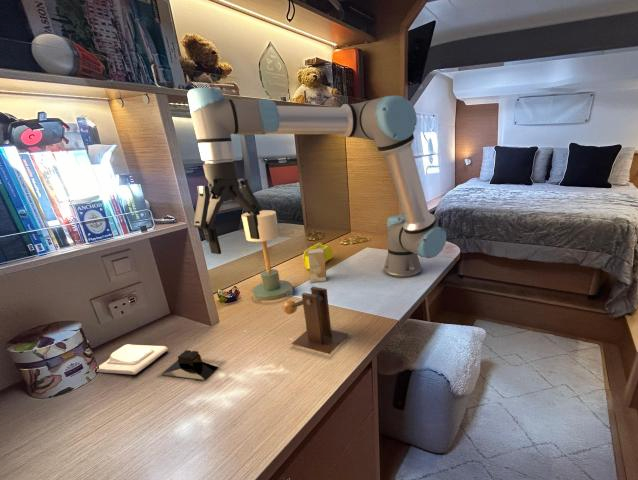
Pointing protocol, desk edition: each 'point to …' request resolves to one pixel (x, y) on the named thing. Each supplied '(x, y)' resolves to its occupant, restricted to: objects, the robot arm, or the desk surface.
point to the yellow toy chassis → (318, 246)
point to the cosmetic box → (317, 265)
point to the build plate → (190, 367)
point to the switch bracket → (318, 324)
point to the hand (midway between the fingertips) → (237, 245)
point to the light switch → (131, 359)
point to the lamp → (267, 259)
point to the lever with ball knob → (297, 304)
